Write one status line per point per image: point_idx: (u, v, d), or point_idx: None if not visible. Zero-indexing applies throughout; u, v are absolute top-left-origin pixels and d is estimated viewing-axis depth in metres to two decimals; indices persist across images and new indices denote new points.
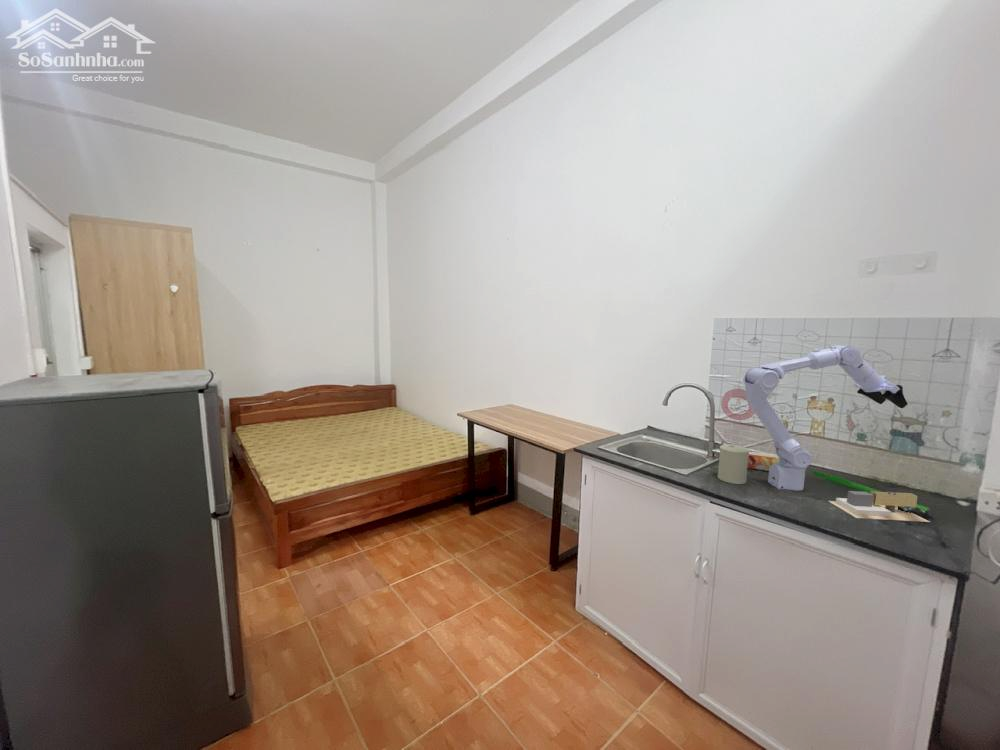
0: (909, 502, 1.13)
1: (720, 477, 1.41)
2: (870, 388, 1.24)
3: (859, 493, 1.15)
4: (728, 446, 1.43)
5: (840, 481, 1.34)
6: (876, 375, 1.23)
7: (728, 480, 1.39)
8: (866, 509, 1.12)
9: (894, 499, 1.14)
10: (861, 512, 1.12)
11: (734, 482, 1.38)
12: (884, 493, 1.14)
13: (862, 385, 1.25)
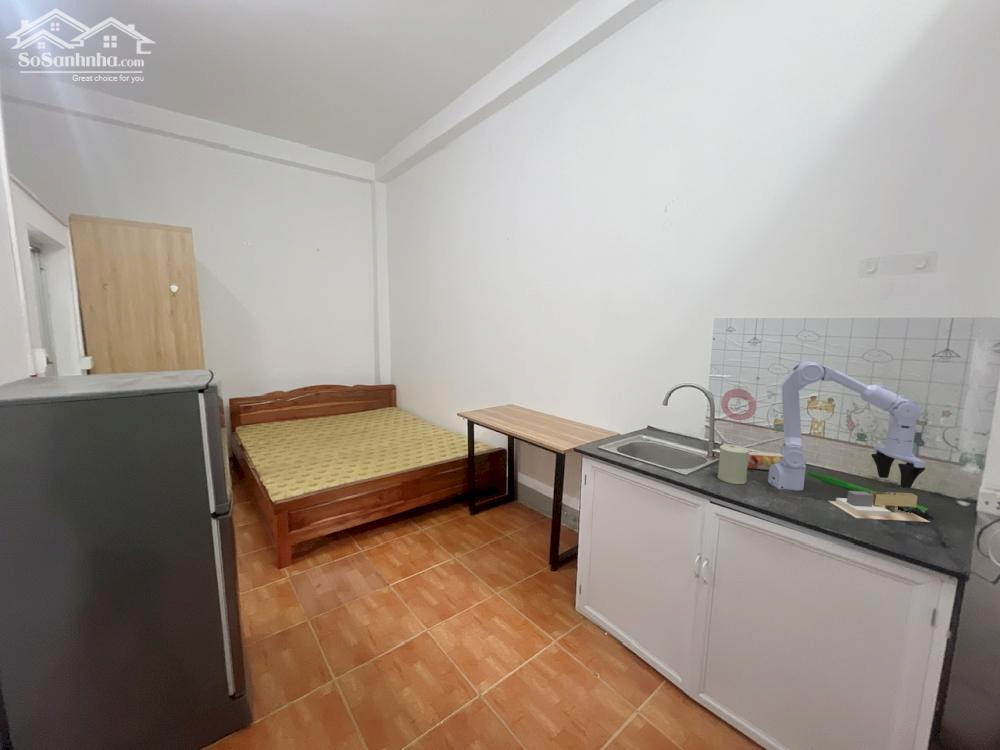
0: (909, 502, 1.13)
1: (720, 477, 1.41)
2: (895, 452, 1.16)
3: (859, 493, 1.15)
4: (728, 446, 1.43)
5: (836, 482, 1.33)
6: (912, 446, 1.15)
7: (728, 480, 1.39)
8: (866, 509, 1.12)
9: (894, 499, 1.14)
10: (861, 512, 1.12)
11: (734, 482, 1.38)
12: (884, 493, 1.14)
13: (890, 446, 1.17)
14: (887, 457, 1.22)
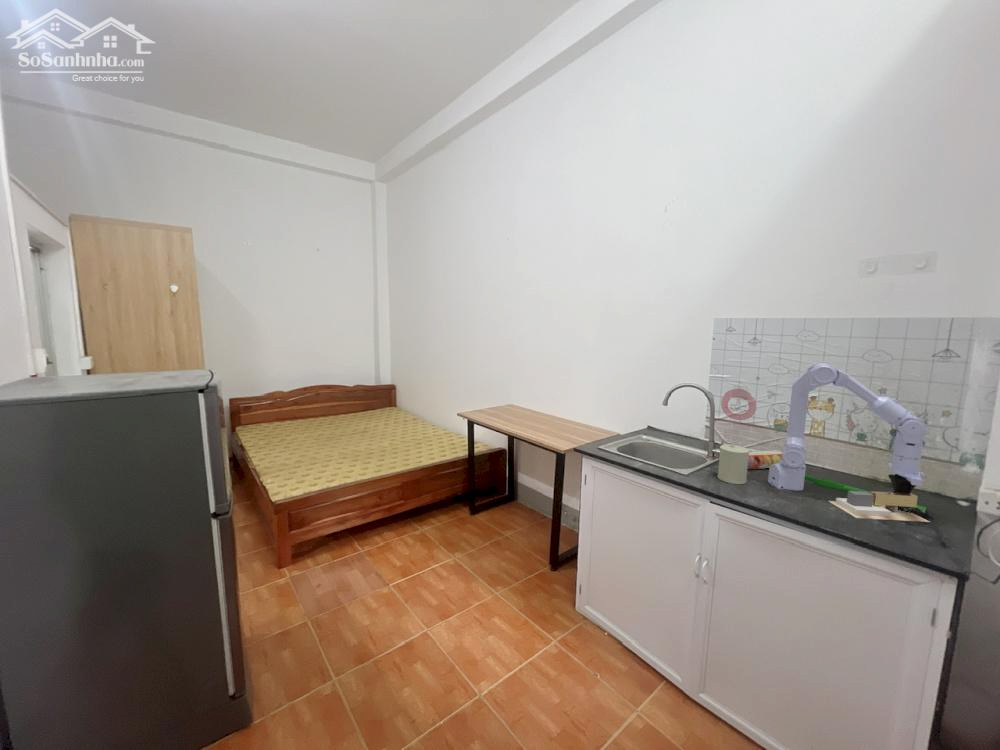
0: (909, 503, 1.13)
1: (720, 477, 1.41)
2: (897, 469, 1.15)
3: (859, 493, 1.15)
4: (728, 446, 1.43)
5: (832, 485, 1.31)
6: (916, 464, 1.12)
7: (728, 480, 1.39)
8: (866, 509, 1.12)
9: (894, 499, 1.14)
10: (861, 512, 1.12)
11: (734, 482, 1.38)
12: (884, 493, 1.14)
13: (894, 462, 1.16)
14: None
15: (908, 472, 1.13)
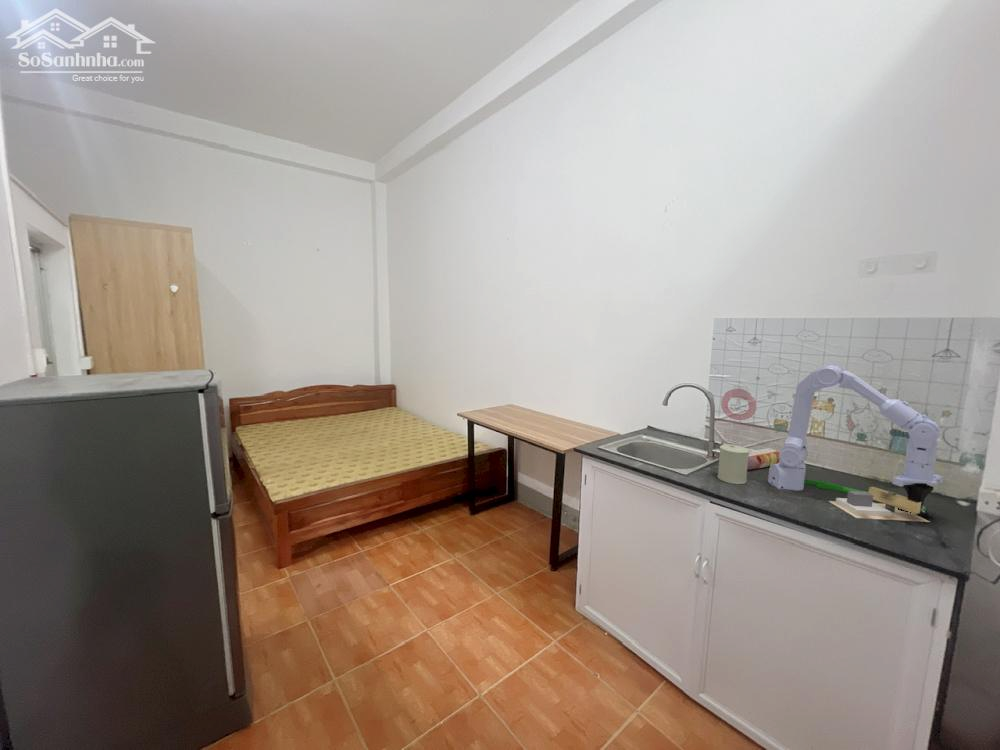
0: (907, 507, 1.10)
1: (720, 477, 1.41)
2: (904, 472, 1.12)
3: (859, 493, 1.15)
4: (728, 446, 1.43)
5: (832, 487, 1.29)
6: (918, 469, 1.08)
7: (728, 480, 1.39)
8: (866, 509, 1.12)
9: (888, 498, 1.14)
10: (861, 512, 1.12)
11: (734, 482, 1.38)
12: (881, 490, 1.16)
13: None
14: None
15: (908, 475, 1.10)
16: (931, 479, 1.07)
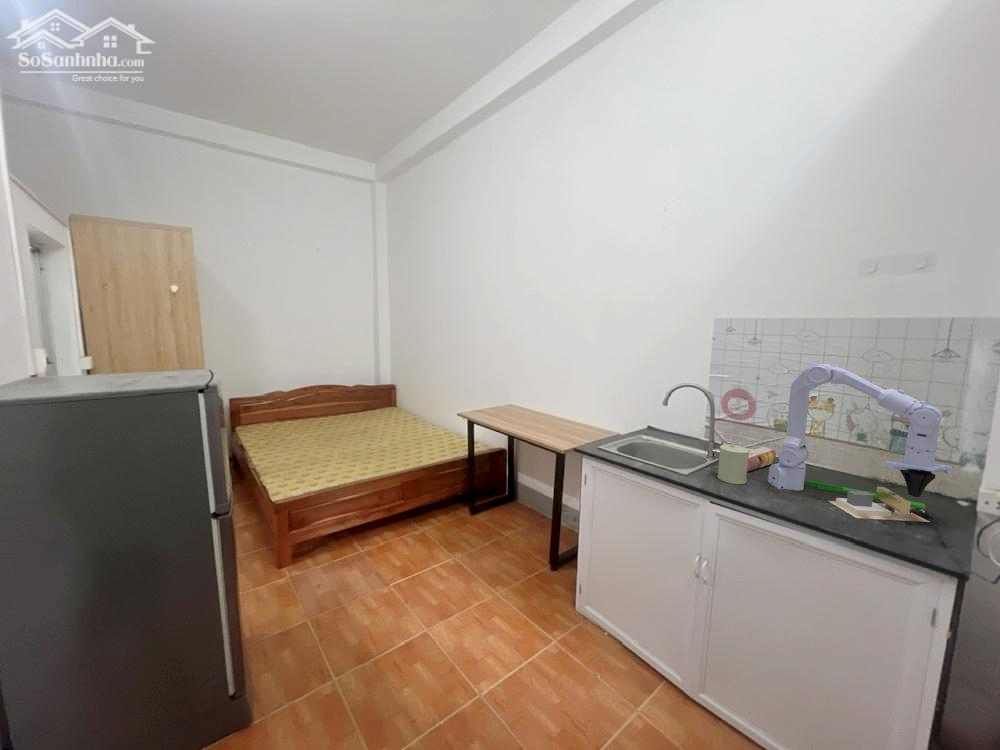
0: (896, 506, 1.11)
1: (720, 477, 1.41)
2: None
3: (859, 493, 1.15)
4: (728, 446, 1.43)
5: (832, 488, 1.28)
6: (913, 454, 1.07)
7: (728, 480, 1.39)
8: (866, 509, 1.12)
9: (886, 497, 1.15)
10: (861, 512, 1.12)
11: (734, 482, 1.38)
12: (885, 490, 1.17)
13: None
14: None
15: (905, 461, 1.09)
16: (928, 466, 1.05)
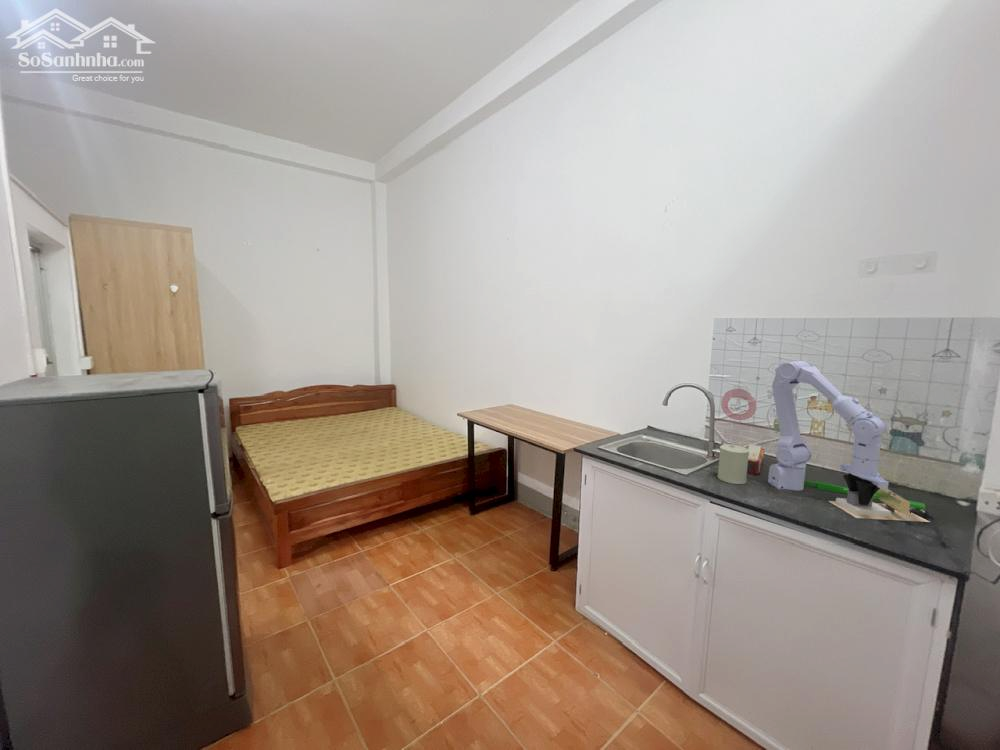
0: (895, 506, 1.11)
1: (720, 477, 1.41)
2: (860, 472, 1.13)
3: None
4: (728, 446, 1.43)
5: (832, 488, 1.28)
6: (876, 465, 1.11)
7: (728, 480, 1.39)
8: (866, 509, 1.12)
9: (886, 497, 1.15)
10: (861, 512, 1.12)
11: (734, 482, 1.38)
12: (886, 490, 1.17)
13: (855, 465, 1.14)
14: (859, 479, 1.16)
15: (870, 474, 1.12)
16: None
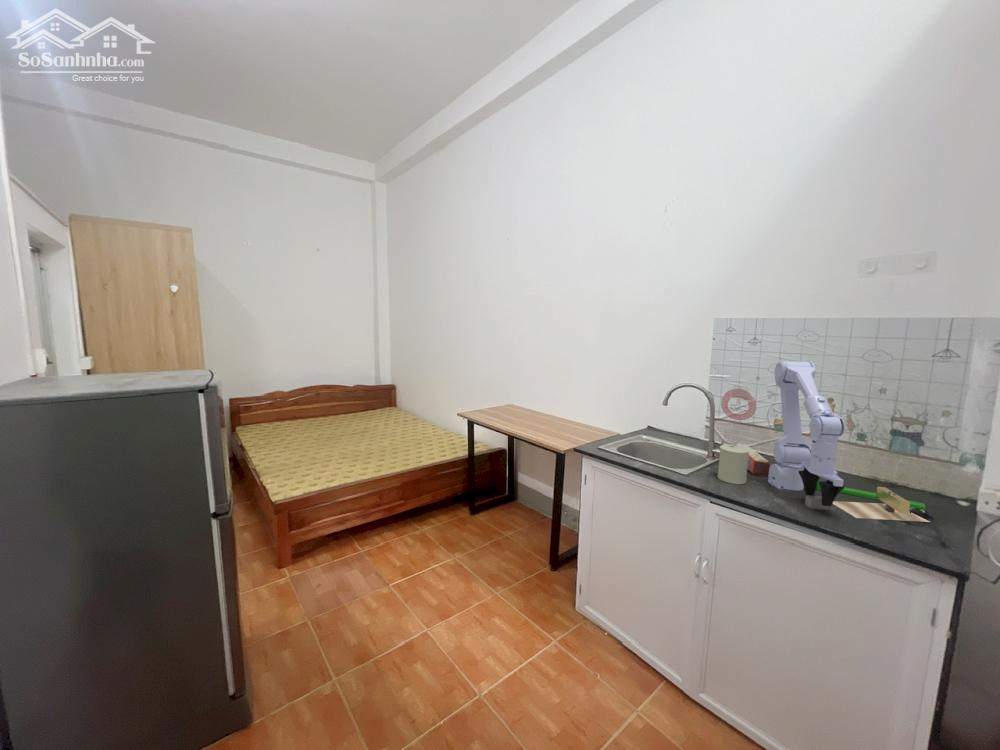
0: (895, 506, 1.11)
1: (720, 477, 1.41)
2: (817, 470, 1.14)
3: (816, 497, 1.16)
4: (728, 446, 1.43)
5: None
6: (833, 464, 1.13)
7: (728, 480, 1.39)
8: None
9: (886, 497, 1.15)
10: None
11: (734, 482, 1.38)
12: (886, 490, 1.17)
13: (813, 463, 1.15)
14: (813, 474, 1.19)
15: (827, 472, 1.13)
16: None
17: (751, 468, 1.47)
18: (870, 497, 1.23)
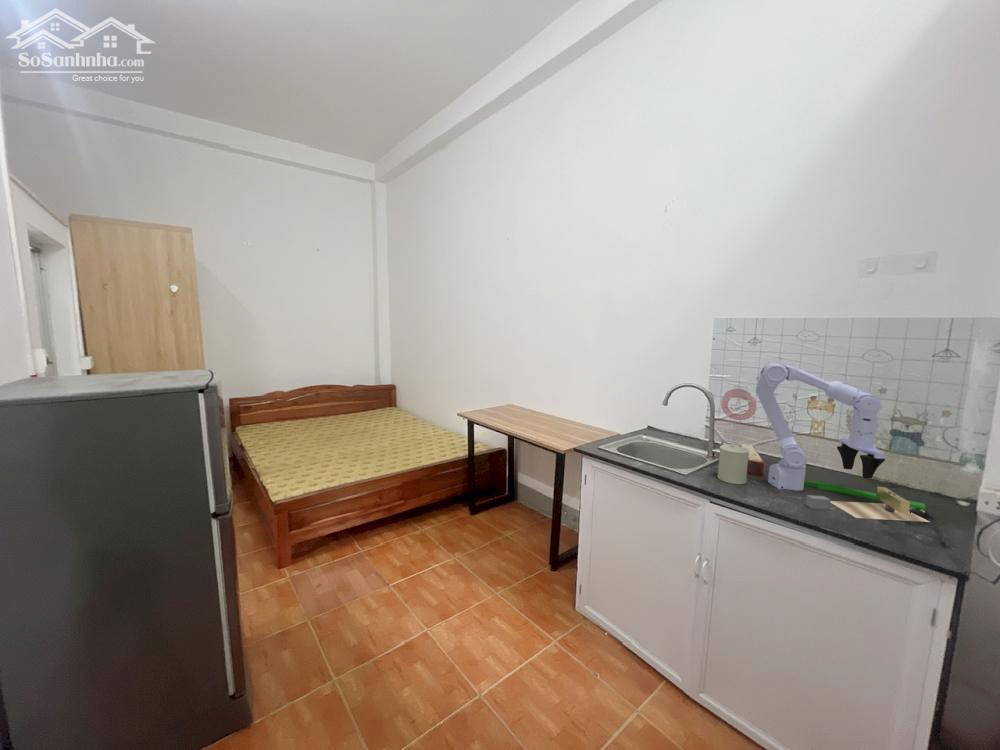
0: (895, 506, 1.11)
1: (720, 477, 1.41)
2: (857, 444, 1.20)
3: (817, 497, 1.16)
4: (728, 446, 1.43)
5: (832, 488, 1.28)
6: (873, 438, 1.19)
7: (728, 480, 1.39)
8: None
9: (886, 497, 1.15)
10: None
11: (734, 482, 1.38)
12: (886, 490, 1.17)
13: (853, 438, 1.22)
14: (851, 449, 1.26)
15: (867, 446, 1.19)
16: None
17: None
18: (870, 497, 1.23)
